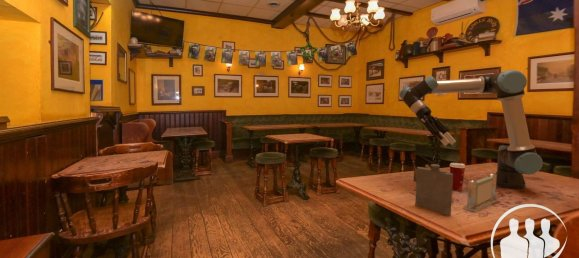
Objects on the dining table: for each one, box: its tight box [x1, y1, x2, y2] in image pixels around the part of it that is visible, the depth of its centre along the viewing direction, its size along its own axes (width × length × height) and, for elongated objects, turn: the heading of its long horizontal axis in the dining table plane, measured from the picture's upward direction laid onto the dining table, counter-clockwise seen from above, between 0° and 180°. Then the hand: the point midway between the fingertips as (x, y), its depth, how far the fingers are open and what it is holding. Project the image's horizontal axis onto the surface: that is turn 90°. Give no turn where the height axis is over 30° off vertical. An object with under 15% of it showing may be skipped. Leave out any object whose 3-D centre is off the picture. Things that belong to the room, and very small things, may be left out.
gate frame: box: [462, 172, 499, 213], centre depth 135 cm, size 25×5×13 cm, turn 127°
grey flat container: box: [413, 164, 431, 182], centre depth 178 cm, size 11×3×10 cm, turn 113°
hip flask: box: [414, 163, 453, 217], centre depth 128 cm, size 16×4×20 cm, turn 32°
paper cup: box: [449, 162, 466, 192], centre depth 160 cm, size 8×8×14 cm
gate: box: [475, 176, 493, 206], centre depth 135 cm, size 18×2×10 cm, turn 127°
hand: (450, 143), depth 148 cm, fingers open, 6 cm apart
